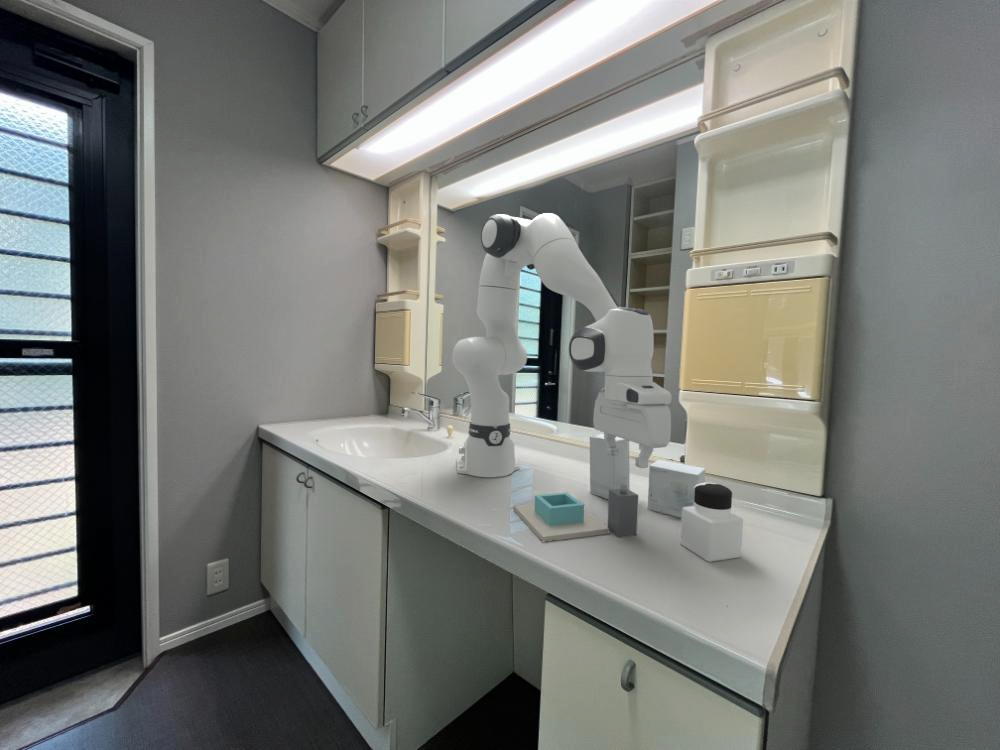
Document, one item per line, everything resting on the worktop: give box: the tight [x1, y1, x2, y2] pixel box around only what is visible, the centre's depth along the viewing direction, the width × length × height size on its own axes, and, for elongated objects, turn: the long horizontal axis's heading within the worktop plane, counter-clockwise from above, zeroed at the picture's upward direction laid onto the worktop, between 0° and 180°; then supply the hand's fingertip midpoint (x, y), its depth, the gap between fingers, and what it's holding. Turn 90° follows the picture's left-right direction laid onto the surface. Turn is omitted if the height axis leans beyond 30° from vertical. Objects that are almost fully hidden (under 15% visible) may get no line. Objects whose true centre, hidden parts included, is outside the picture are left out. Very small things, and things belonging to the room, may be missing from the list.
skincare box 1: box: [589, 433, 631, 501], centre depth 102 cm, size 8×6×15 cm
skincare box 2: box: [647, 459, 706, 519], centre depth 93 cm, size 10×6×10 cm, turn 50°
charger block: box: [606, 484, 639, 538], centre depth 82 cm, size 4×4×10 cm
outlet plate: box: [513, 492, 610, 542], centre depth 87 cm, size 16×14×4 cm
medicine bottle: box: [680, 482, 744, 563], centre depth 75 cm, size 7×7×12 cm
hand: (626, 461), depth 81 cm, fingers open, 8 cm apart
